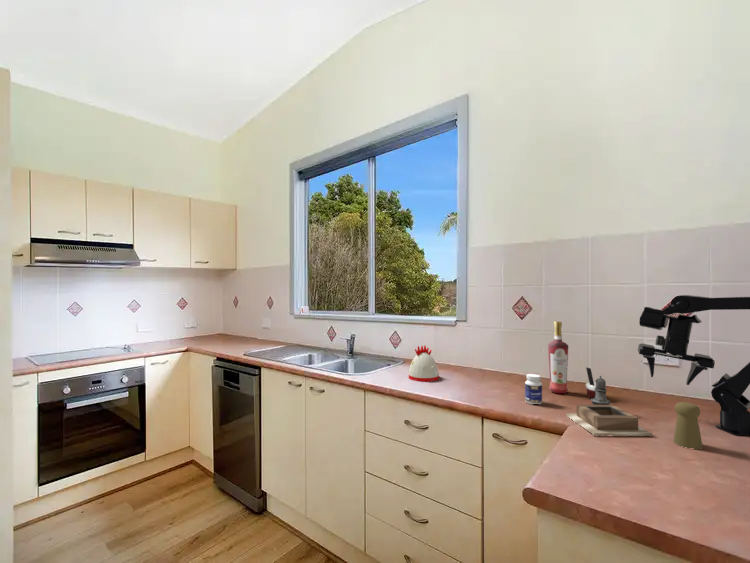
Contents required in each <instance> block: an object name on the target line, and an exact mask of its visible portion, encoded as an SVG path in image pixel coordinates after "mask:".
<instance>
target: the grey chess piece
mask: <svg viewBox="0 0 750 563" xmlns="http://www.w3.org/2000/svg"><path fill="white" fill-rule="evenodd" d="M595 381H596V388H595V390H596V395H595V398H592V399H591V398H590V401H591V405H611V404H612V402H611V400H609V399H608V398H607V391H608V389H607V387H606V384H607V382H606V380H605V378H602V375H600V376H599V378H597V379H595Z"/></svg>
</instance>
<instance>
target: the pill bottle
mask: <svg viewBox="0 0 750 563" xmlns="http://www.w3.org/2000/svg"><path fill="white" fill-rule="evenodd" d="M524 402H525V403H526V402H527V403H526V404H529V405H533V404H539V405H542V404H543V383H542V382H541V375H539V374H535V373H527V374H526V381H525V382H524Z"/></svg>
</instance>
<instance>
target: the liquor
mask: <svg viewBox="0 0 750 563" xmlns="http://www.w3.org/2000/svg"><path fill="white" fill-rule="evenodd" d="M553 327H554V336H553V340H552V341H551V342H549V343H547V349H548V350H547V352H548V355H547V356H548V367H549V387H548V389H549V390H550V391H551V392H552V393H554V394H557V395H564V394H566V393H567V392H568V391H569V389H568V363H569V344H567V343H566V342H564V341H563V335H562V327H563V326H562V321H553Z"/></svg>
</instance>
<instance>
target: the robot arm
mask: <svg viewBox="0 0 750 563" xmlns="http://www.w3.org/2000/svg"><path fill="white" fill-rule="evenodd" d="M714 310H715V311H719V310H721V311H722V310H723V311H724V310H725V311H727V310H732V311H733V310H735V311H736V310H750V296H729V297H726V296H724V297H708V296H698V295H692V294H691V295H690V294H683V295H681V294H680V295H677V296H675V297H673V298H672V299H671V301H670V304H669V305H668V306H667V307H665V308H664V309H659V308H653V307H650V306H644V308H643V311H642V313H641V315H640V316H639V326H640V327H643V328H648V329H653V330H656V331H657V330H658V331H662V330H663V329H666V328H667V331H666V336H663V335H657V336H656V337H655V338H656V339H655V345H656V346H660V347H661V348H656V347H655V346H654V345H652V344H648V343H643V342H641V343H639V344H638V347H637V352H638V355H640V356H641V355H642V357H643V358H644V359H646V361H647V364H648V368H649V373H650V377H651V378H654V373H655V362H656V361H655V360H656V358H655V355H658V356H662V357H668V358H673V359H676V360H677V359H678V360H682V361H689V362H691V363H690V368H689V372H688V376H687V379H686V386H689V385H691V383H692V382H693V381H694V379H695V378H696V377H697V376H698V375H699V374H700V373H702V372H703V371H708V369H715V364H716V363H715V360H714V359H713V358H712V357H711V356H710V355H709V354H708V355H707V354H702V353H694V355H692V354H688V348H689V344H690V337H691V334H692V328H693V324H701V323H703V321H702V320H701V319H700V318H699V316H698V315H697V314H693V315H686V314H691V313H698V312H699V313H700V312H704V311H714ZM674 314H679V315H678V316H673V315H674ZM667 326H668V327H667ZM749 386H750V361H749V362H748V363H747V364H746V365H745V366H744V367H742V368H741V369H740V370H739V371H738V372H736V373H735V374H733V375H731V376H730V375H729V374H728V373H724V375H722V376H721V377H720V379H719V380H717V381H716V382H714V383H713V384H712V385H711V387H713V388H712V389H711V392H710V393H711V397H712V399H713V400H714V401H715V402H716V403H718V404H719V407H720V410H719V424H715V427H716V428H718V429H719V430H722V431H725V432H727V433H729V434H732V435H734V436H750V411H749V409H750V400H749V398H747V397H746V396H745V395H744V393H745V392H746V390H747V389H748V388H749Z"/></svg>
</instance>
